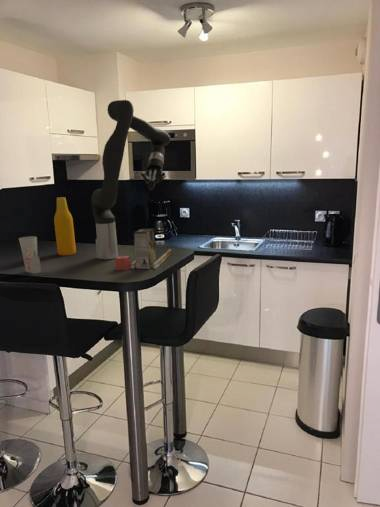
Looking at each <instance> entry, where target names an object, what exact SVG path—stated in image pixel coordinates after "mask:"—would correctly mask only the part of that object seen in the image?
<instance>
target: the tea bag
mask: <svg viewBox="0 0 380 507" xmlns="http://www.w3.org/2000/svg"><path fill="white" fill-rule="evenodd" d="M23 264H24V271H25V273H29V274H31V275H34V274H39V273H42V266H41V259H40V257H39V255H38V253H37V254H36V252H35V250H31V249H26V253H25V256H24V259H23Z"/></svg>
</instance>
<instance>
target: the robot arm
mask: <svg viewBox="0 0 380 507" xmlns="http://www.w3.org/2000/svg"><path fill="white" fill-rule="evenodd" d="M107 114H108V116H109V118H110V119H111V120H113V121H115V122H116V125H115V128H114V129H113V130H114V131H113V132H112V134H111V135H110V137H109V138H108V139H107V141H106V142H105V145H104V149H103V152H102V158H101V160H102V169H103V182H102V186H101V188H97V189H96V190H95V189H94V191H93V192H92V194H91V198H90V199H91V207H92V208H91V209H92V215H93V218H94V221H95V228H96V238H95V248H96V258H97V259H98V260H112V259H115V258H117V257H118V256H119V251H118V238H117V229H116V228H117V227H116V216H115V215H114V214H113V213H112V210H111V208H113V207H114V206H115V204H116V202H117V199H118V198H117V197H118V184H119V178H120V173H121V166H122V163H123V158H124V155H125V147H126V144H127V138H128V136H129V130H130V129H132V130H133V131H135V132H137V133H138V134H139V135H141V137H144V138H145V139H146V140H148V141H150V147H151V152H150V156H149V158H148V163H147V166H146V167H147V169H146V170H145V172H144V173H143V172H142V173H141V174H140V176H141V179H142V180H143V181H144V182H145V183H146V184H147V188H148V190H149V191H153V190H154V189H155V186H156V184H157V185H158V184H159V183H161V182H162V181H163V180H164V179H165V178H167V177H166V172H163V167H164V164H165V163H164V161H165V153H166V149H165V146H168V145H169V144H170V142H171V141H172V140H171V136H170V134H169V133H168V132H167V131H165V130H163V129H161V128H157V127H155V126H153V125H152V124H151V123H149V122H148V121H146V120H144V119H142V118H139V117H137V116H135V115H134V105H133V103H132V102H131V101H130V100H128V99H120V100H113V101H110V103H109V104H108V105H107Z"/></svg>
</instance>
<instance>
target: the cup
mask: <svg viewBox="0 0 380 507" xmlns="http://www.w3.org/2000/svg"><path fill="white" fill-rule="evenodd" d="M18 240H19V241H18V242H19V246H20V250H21V254H22V258H23V260H24V256H25V253H26V249H31V250H35V252H36V254H37V255H38V237H37V236H34V235H33V236H32V235H31V236H23V237H19V238H18Z"/></svg>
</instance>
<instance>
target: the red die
mask: <svg viewBox="0 0 380 507" xmlns="http://www.w3.org/2000/svg"><path fill="white" fill-rule="evenodd" d="M114 259H115V260H114V261H115V262H114V263H115V270H116V271H128V270H129V269H131V263H132V261H131V256H130V255H118V257H117V258H114Z"/></svg>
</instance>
